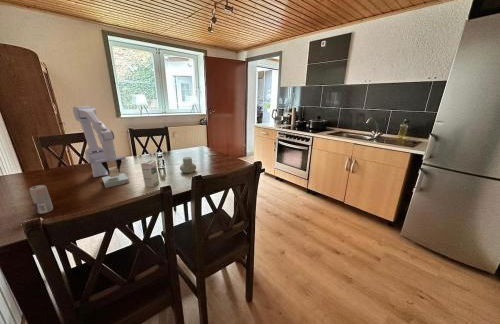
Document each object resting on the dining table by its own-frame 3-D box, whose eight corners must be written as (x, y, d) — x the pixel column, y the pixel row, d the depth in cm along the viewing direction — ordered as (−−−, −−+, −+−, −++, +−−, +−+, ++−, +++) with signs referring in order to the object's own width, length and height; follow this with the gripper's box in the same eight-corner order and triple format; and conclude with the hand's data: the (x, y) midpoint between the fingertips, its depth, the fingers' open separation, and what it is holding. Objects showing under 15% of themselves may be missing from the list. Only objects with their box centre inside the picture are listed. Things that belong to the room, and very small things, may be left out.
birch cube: (109, 175, 124) (108, 168, 122) (118, 173, 126) (116, 166, 125) (110, 177, 120) (109, 170, 119) (119, 175, 123) (118, 168, 122)
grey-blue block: (103, 181, 125) (101, 177, 124) (125, 177, 133) (124, 173, 132) (105, 188, 117) (104, 183, 116) (129, 183, 124) (128, 178, 123)
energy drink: (44, 208, 96) (36, 184, 92) (56, 207, 96) (49, 184, 92) (34, 214, 90) (24, 190, 87) (46, 213, 91) (38, 189, 87)
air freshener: (185, 175, 136) (184, 161, 133) (178, 172, 141) (176, 158, 137) (198, 170, 144) (197, 157, 141) (191, 168, 149) (190, 155, 146)
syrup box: (153, 187, 118) (149, 163, 114) (144, 186, 119) (140, 162, 115) (159, 183, 123) (156, 160, 119) (150, 182, 125) (147, 159, 120)
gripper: (94, 154, 111) (100, 177, 115) (124, 150, 120) (128, 172, 124) (93, 152, 116) (98, 174, 121) (122, 148, 125) (126, 168, 129)
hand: (113, 172), depth 123 cm, fingers closed on birch cube, 4 cm apart
